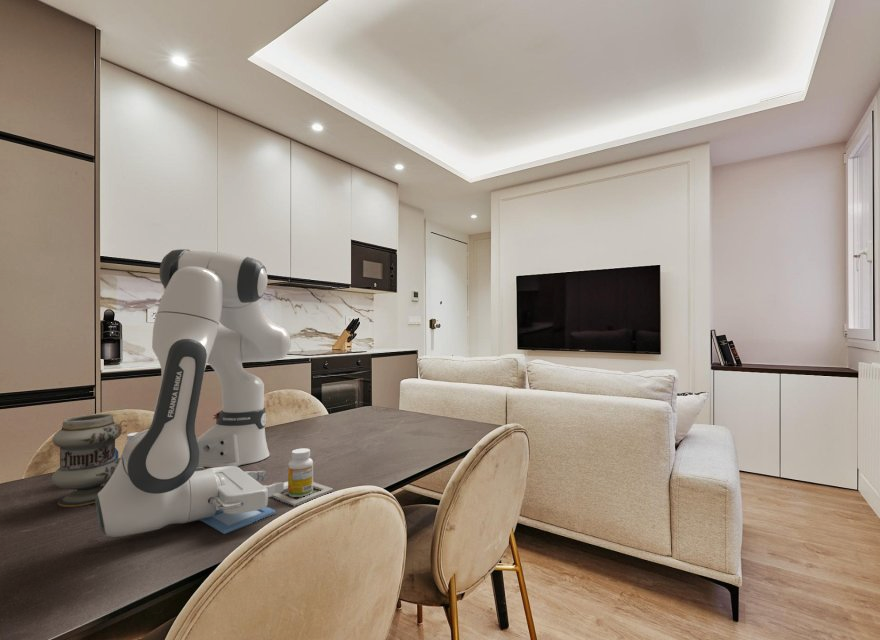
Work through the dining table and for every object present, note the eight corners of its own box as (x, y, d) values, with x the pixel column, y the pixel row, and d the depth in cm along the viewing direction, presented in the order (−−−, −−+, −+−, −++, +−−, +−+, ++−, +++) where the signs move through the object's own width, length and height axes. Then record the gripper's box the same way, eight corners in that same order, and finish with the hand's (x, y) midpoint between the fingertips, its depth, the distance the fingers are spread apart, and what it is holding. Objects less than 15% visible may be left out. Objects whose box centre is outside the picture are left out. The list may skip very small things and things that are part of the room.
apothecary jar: (66, 491, 96) (68, 413, 97) (129, 484, 101) (130, 410, 101) (39, 513, 85) (41, 424, 85) (111, 503, 89) (112, 419, 90)
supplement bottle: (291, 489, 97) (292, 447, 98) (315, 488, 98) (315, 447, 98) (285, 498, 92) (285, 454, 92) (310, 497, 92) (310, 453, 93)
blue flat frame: (224, 534, 76) (224, 530, 76) (192, 515, 83) (192, 512, 83) (333, 491, 96) (333, 488, 96) (300, 479, 104) (300, 477, 104)
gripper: (218, 492, 74) (294, 477, 83) (191, 466, 89) (258, 455, 98) (216, 529, 73) (292, 509, 83) (189, 496, 88) (257, 483, 98)
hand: (273, 480), depth 91 cm, fingers open, 8 cm apart
